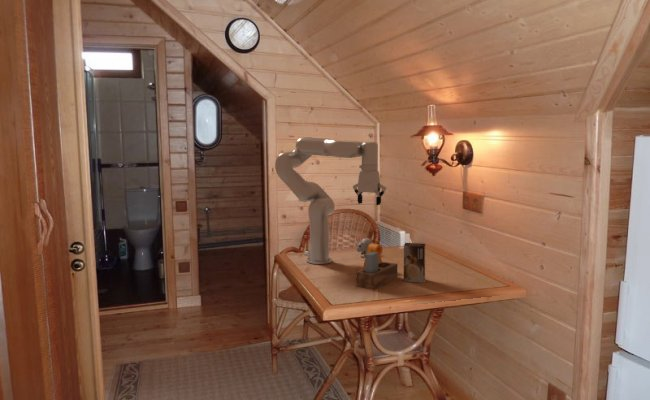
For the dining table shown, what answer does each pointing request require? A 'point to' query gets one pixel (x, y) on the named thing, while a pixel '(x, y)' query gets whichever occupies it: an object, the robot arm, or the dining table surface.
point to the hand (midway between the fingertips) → (369, 204)
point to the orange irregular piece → (375, 250)
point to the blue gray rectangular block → (371, 262)
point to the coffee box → (414, 262)
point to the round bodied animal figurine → (363, 245)
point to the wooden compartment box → (377, 276)
